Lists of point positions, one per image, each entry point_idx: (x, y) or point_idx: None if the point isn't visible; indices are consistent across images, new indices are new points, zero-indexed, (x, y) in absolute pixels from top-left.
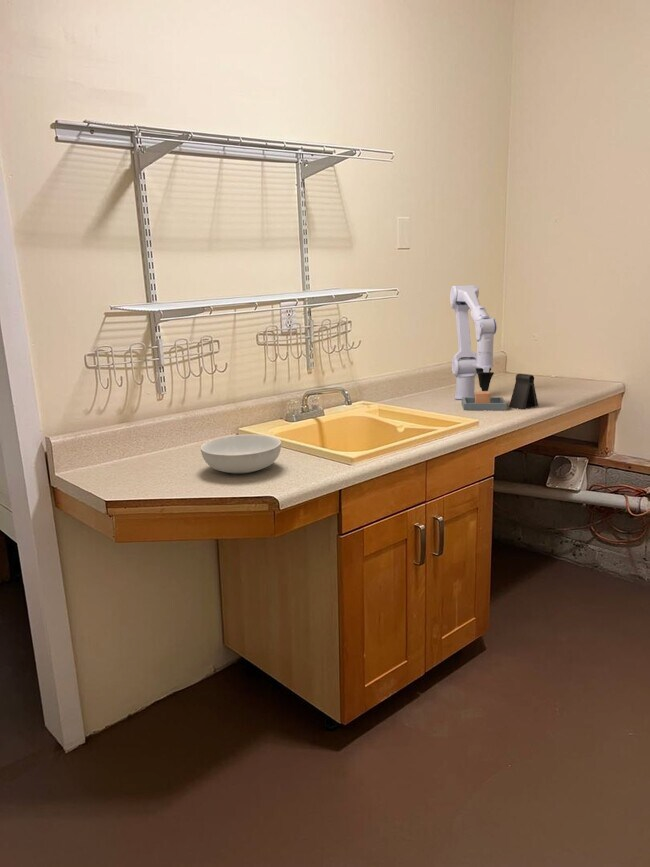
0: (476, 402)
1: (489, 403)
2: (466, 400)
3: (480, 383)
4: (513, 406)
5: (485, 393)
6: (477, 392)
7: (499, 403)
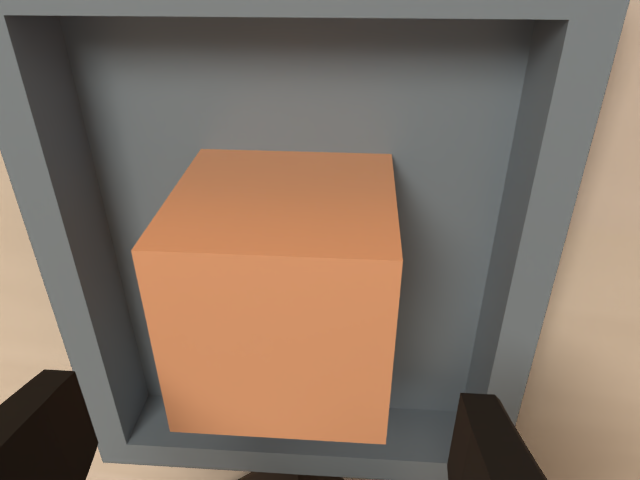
0: (183, 182)
1: (71, 324)
2: (543, 45)
3: (477, 471)
4: (260, 476)
5: (188, 381)
6: (285, 284)
7: (98, 411)
